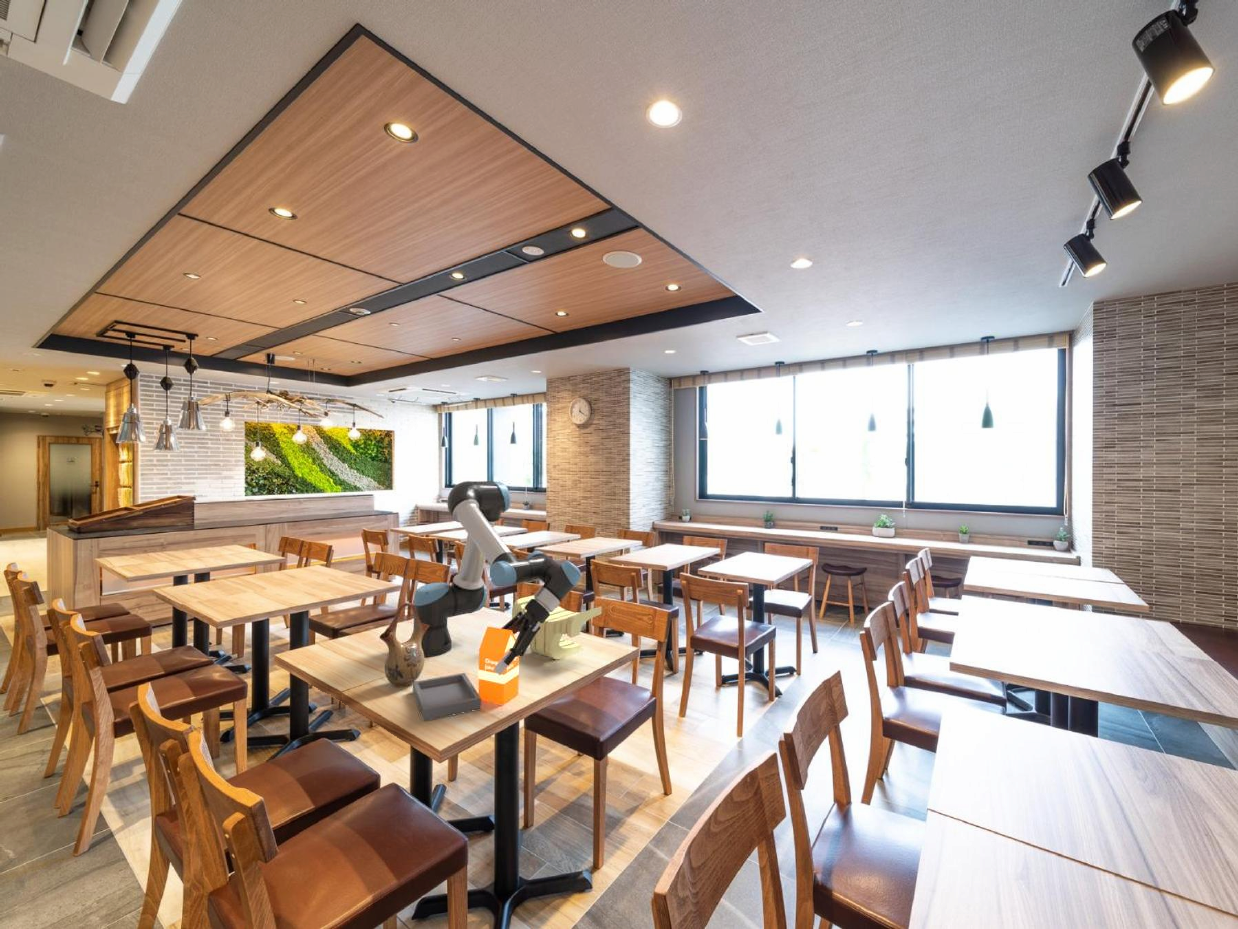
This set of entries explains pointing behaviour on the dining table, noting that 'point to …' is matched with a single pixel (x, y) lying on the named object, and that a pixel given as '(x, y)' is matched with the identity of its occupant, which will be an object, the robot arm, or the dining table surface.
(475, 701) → the tray
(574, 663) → the dining table surface
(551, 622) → the slatted curved stool
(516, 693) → the orange juice
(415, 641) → the ceramic vessel
